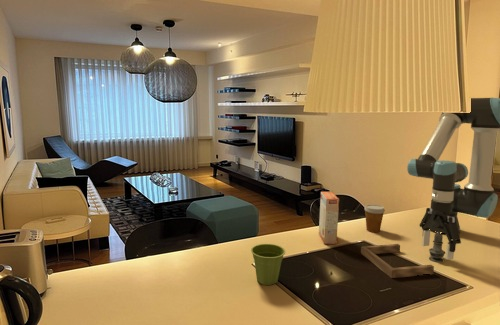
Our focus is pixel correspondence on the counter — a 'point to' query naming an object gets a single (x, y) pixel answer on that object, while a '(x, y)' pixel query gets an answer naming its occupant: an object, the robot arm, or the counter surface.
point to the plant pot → (267, 262)
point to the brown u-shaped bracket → (386, 268)
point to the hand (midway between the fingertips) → (437, 252)
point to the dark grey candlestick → (437, 248)
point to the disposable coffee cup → (374, 217)
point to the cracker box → (328, 217)
